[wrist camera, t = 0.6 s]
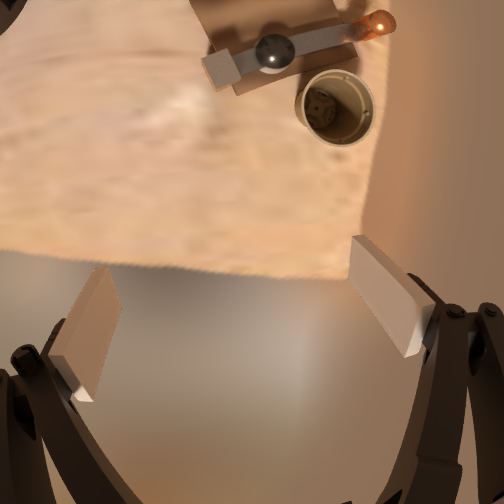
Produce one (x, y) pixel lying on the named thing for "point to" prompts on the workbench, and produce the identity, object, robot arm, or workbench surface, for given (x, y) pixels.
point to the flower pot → (337, 108)
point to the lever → (292, 48)
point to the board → (269, 32)
